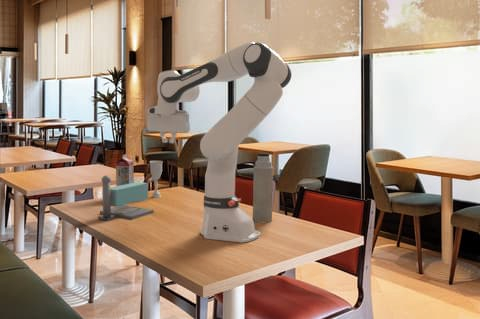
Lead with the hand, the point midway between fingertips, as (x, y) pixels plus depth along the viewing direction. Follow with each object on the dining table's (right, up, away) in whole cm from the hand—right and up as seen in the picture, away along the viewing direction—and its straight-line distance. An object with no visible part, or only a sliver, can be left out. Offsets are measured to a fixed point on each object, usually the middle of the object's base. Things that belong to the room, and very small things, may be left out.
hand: (168, 142), depth 202 cm
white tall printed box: (-27, -27, +36) cm, 53 cm away
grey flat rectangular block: (-19, -30, +6) cm, 36 cm away
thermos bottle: (+40, -33, -2) cm, 51 cm away
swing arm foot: (-25, -32, -5) cm, 40 cm away
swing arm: (-20, -29, +4) cm, 35 cm away
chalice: (-12, -26, +42) cm, 51 cm away
